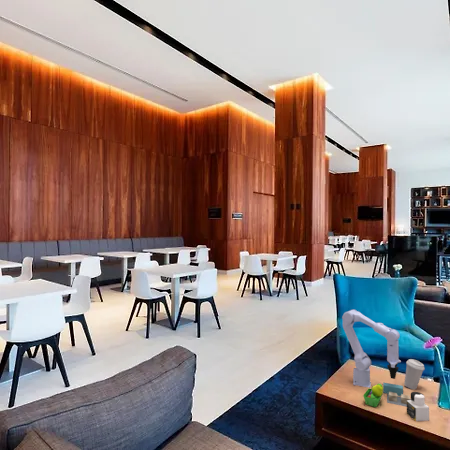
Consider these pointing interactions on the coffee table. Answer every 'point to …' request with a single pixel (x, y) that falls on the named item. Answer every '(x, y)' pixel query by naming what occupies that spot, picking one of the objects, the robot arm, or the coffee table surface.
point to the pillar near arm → (392, 396)
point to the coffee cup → (413, 373)
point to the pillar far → (404, 398)
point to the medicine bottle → (417, 407)
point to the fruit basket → (373, 395)
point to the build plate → (396, 402)
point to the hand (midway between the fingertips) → (392, 375)
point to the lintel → (392, 388)
